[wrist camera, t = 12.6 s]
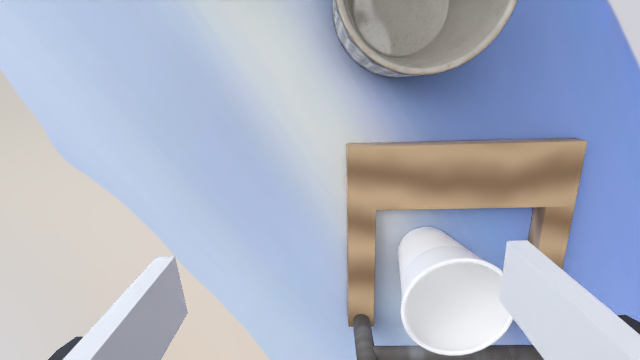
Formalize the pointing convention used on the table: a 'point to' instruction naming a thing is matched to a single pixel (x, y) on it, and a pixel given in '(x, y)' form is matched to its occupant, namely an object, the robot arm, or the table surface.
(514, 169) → the wooden frame with crossbar
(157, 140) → the table surface
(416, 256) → the cup
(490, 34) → the planter
